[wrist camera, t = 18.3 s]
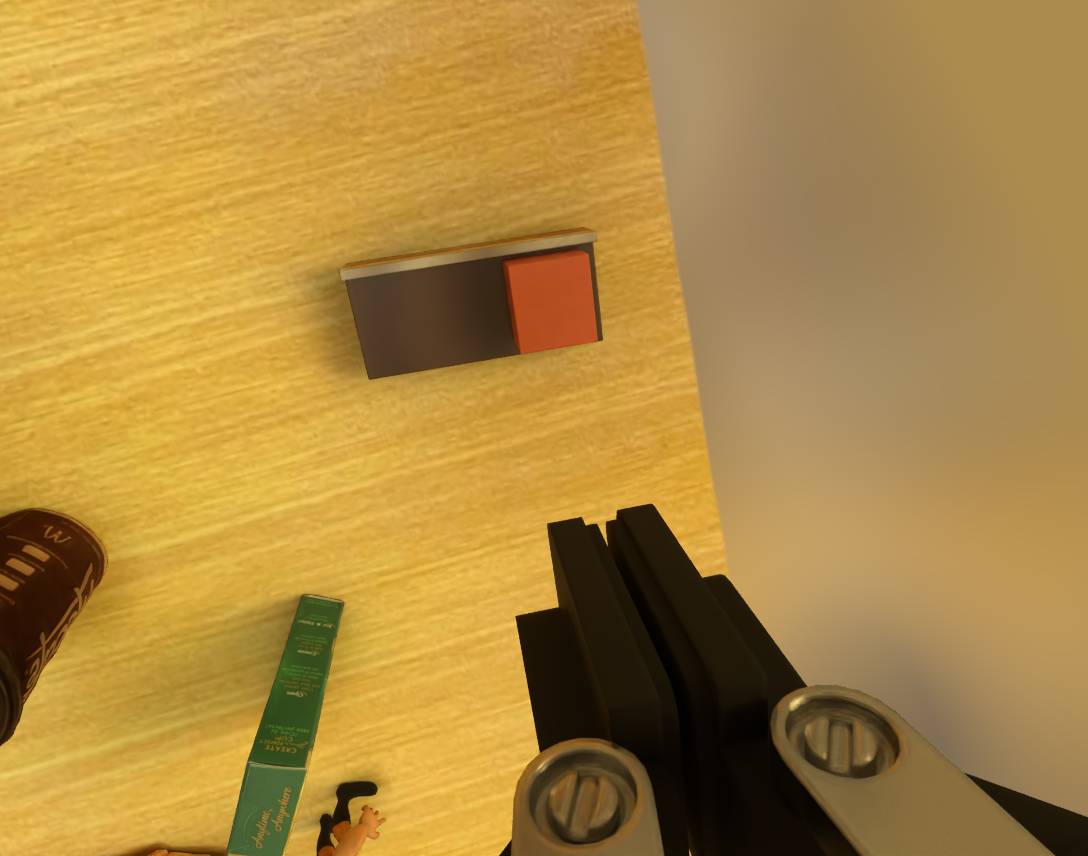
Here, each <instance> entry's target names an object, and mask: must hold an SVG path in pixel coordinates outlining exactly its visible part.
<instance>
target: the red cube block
mask: <svg viewBox="0 0 1088 856" xmlns="http://www.w3.org/2000/svg"><path fill="white" fill-rule="evenodd" d="M502 264H503V270H504V277H505V283H506V290H507V296H508V303H509V309H510V316H511V322H512V329H513V336H514V341H515V343H516V345H517V347H518V350H519V352H520V354H526V353H532V352H538V351H544V350H550V349H556V348H562V347H568V346H574V345H580V344H586V343H592V342H597V341H598V338H597V328H596V319H595V310H594V300H593V291H592V282H591V272H590V263H589V254H588V253H585V252H583V251H581V250H579V249H577V248H574V249H567V250H561V251H555V252H548V253H542V254H535V255H529V256H522V257H516V258H510V259H503V260H502Z"/></svg>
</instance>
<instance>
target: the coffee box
mask: <svg viewBox="0 0 1088 856" xmlns="http://www.w3.org/2000/svg"><path fill="white" fill-rule="evenodd" d="M343 606H344V603H343V602H342V601H339V600H335V599H330V598H325V597H319V596H314V595H303V596H302V597H301V600H300V603H299V606H298V609H297V613H296V616H295V618H294V621H293V624H292V627H291V630H290V633H289V637H288V640H287V643H286V646H285V649H284V652H283V655H282V659H281V662H280V665H279V668H278V671H277V674H276V678H275V680H274V683H273V686H272V689H271V692H270V695H269V698H268V701H267V704H266V707H265V710H264V713H263V716H262V719H261V722H260V725H259V728H258V731H257V734H256V737H255V741H254V744H253V747H252V750H251V752H250V755H249V758H248V761H247V765H246V769H245V774H244V778H243V782H242V786H241V791H240V795H239V800H238V804H237V808H236V813H235V817H234V821H233V826H232V830H231V835H230V839H229V844H228V848H227V853H226V856H284V855H285V852H286V848H287V845H288V842H289V838H290V835H291V832H292V828H293V825H294V822H295V818H296V815H297V811H298V807H299V804H300V800H301V797H302V793H303V789H304V785H305V782H306V777H307V773H308V769H309V764H310V760H311V755H312V751H313V746H314V742H315V737H316V733H317V728H318V723H319V718H320V714H321V709H322V704H323V699H324V694H325V689H326V684H327V679H328V675H329V670H330V665H331V660H332V655H333V651H334V646H335V641H336V637H337V632H338V628H339V623H340V619H341V615H342V611H343Z"/></svg>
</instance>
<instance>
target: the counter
mask: <svg viewBox="0 0 1088 856" xmlns="http://www.w3.org/2000/svg"><path fill="white" fill-rule="evenodd" d="M595 241H597V232H596V231H594V230H590V229H587V228H584V227H582V228H576V229H569V230H563V231H556V232H550V233H543V234H536V235H530V236H523V237H517V238H510V239H504V240H497V241H491V242H484V243H478V244H471V245H464V246H458V247H451V248H445V249H438V250H432V251H425V252H419V253H412V254H406V255H399V256H392V257H386V258H379V259H373V260H366V261H360V262H353V263H348V264H346V265H345V266H344V267H343V268H342V269H341V270H340V271H339V273H340V277H341V280H342V281H343V280H345V282H346V286H347V290H348V294H349V299H350V303H351V307H352V311H353V315H354V320H355V324H356V328H357V332H358V336H359V340H360V345H361V349H362V353H363V357H364V361H365V366H366V370H367V374H368V378H369V380H371V379H377V378H383V377H389V376H395V375H401V374H407V373H413V372H419V371H425V370H430V369H436V368H442V367H448V366H454V365H460V364H466V363H472V362H478V361H484V360H490V359H496V358H502V357H507V356H513V355H519V354H520V352H519V350H518V347H517V345H516V343H515V341H514V336H513V329H512V322H511V316H510V309H509V303H508V296H507V290H506V283H505V277H504V270H503V264H502V260H503V259H510V258H516V257H522V256H529V255H535V254H542V253H548V252H555V251H561V250H567V249H574V248H577V249H579V250H581V251H583V252H585V253H588V254H589V263H590V272H591V282H592V291H593V300H594V310H595V319H596V328H597V338H598V341H602V340H603V335H602V325H601V315H600V306H599V296H598V287H597V277H596V267H595V258H594V248H593V242H595Z"/></svg>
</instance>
